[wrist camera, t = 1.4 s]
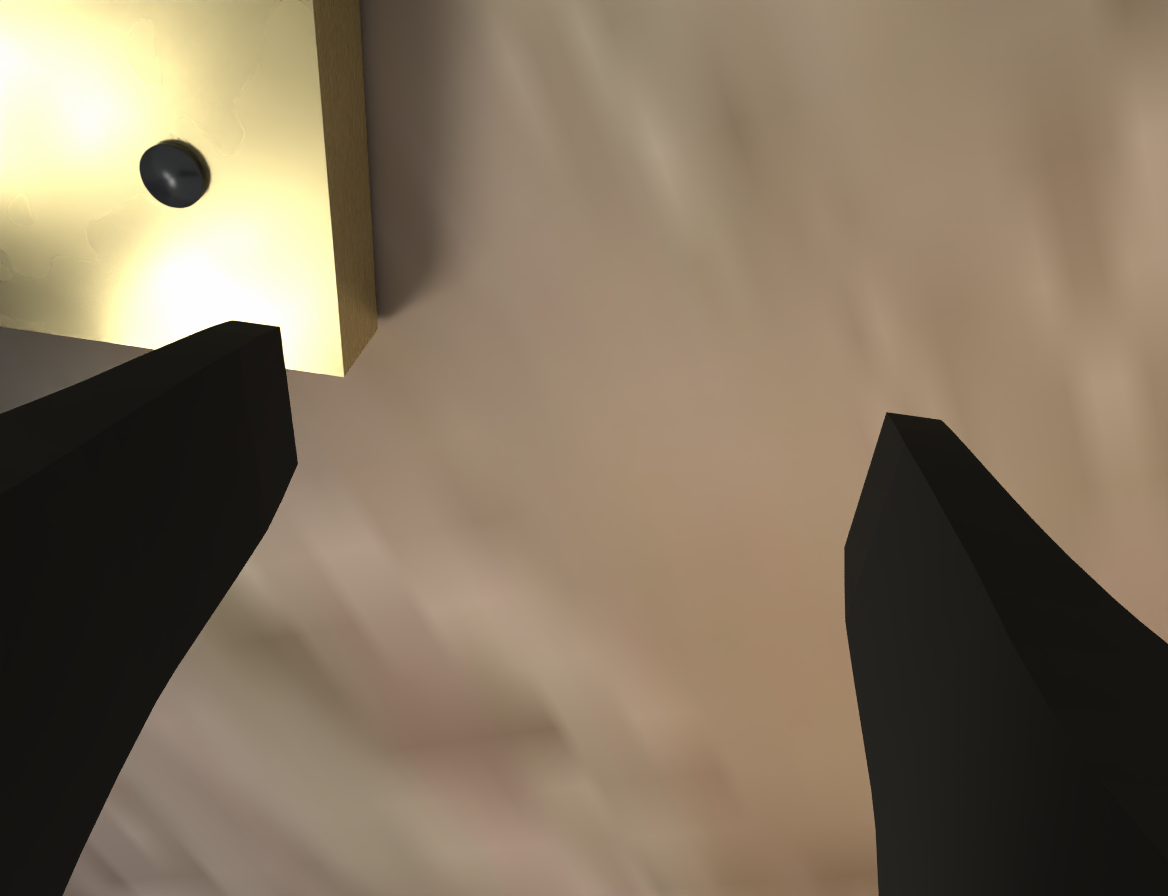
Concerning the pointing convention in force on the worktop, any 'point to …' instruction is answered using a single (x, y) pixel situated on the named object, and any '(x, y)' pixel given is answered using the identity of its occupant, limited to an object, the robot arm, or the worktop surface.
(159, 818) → the worktop surface
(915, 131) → the worktop surface
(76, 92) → the brass plate
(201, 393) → the robot arm
